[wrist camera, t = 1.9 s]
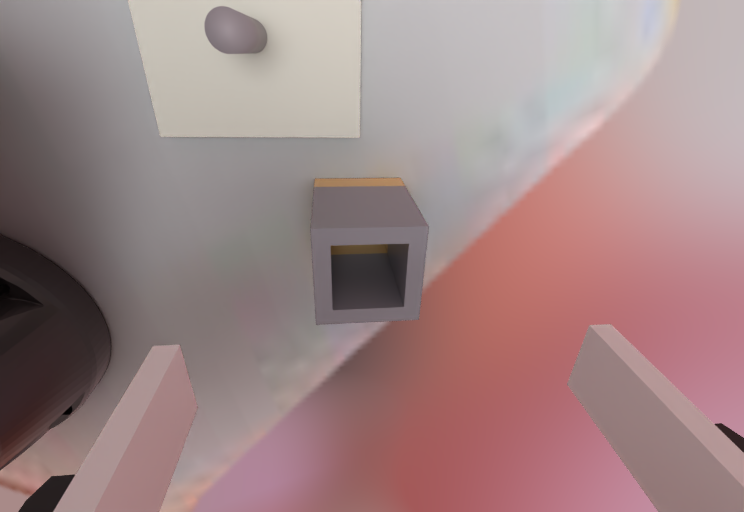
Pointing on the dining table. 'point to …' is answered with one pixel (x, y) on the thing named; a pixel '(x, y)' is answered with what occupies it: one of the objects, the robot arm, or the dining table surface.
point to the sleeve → (366, 251)
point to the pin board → (252, 66)
